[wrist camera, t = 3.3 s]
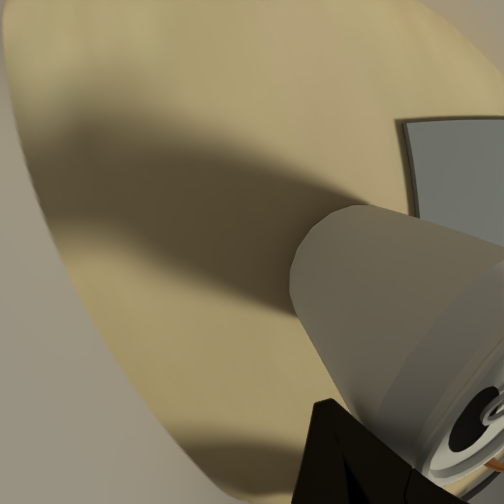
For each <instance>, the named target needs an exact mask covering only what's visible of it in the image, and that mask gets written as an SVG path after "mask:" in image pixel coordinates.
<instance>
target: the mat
mask: <svg viewBox="0 0 504 504" xmlns="http://www.w3.org/2000/svg"><path fill="white" fill-rule="evenodd" d="M403 129H404V134H405V140H406V145H407V151H408V157H409V163H410V170H411V177H412V185H413V193H414V202H415V212H416V218H419V219H422V220H426V221H429V222H432V223H435V224H438V225H441V226H445V227H448V228H451V229H454V230H457V231H460V232H463V233H466V234H469V235H471V236H474V237H477V238H480V239H483V240H486V241H488V242H491V243H494V244H497V245H499V246H502V247H504V120H448V121H430V122H416V123H405V124H403Z"/></svg>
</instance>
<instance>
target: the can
mask: <svg viewBox="0 0 504 504" xmlns="http://www.w3.org/2000/svg"><path fill="white" fill-rule="evenodd" d="M289 294H290V297H291V300H292V303H293V306H294V309H295V312H296V314H297V316H298V318H299V320H300V321H301V323H302V325H303V327H304V329H305V331H306V332H307V334H308V336H309V338H310V340H311V341H312V343H313V345H314V347H315V349H316V350H317V352H318V354H319V356H320V358H321V360H322V361H323V363H324V365H325V367H326V369H327V371H328V372H329V374H330V376H331V378H332V380H333V382H334V383H335V385H336V387H337V389H338V391H339V393H340V394H341V396H342V398H343V400H344V402H345V404H346V405H347V407H348V409H349V411H350V413H351V415H352V416H353V417H354V418H356V419H357V420H358V421H359V422H360V423H361V424H362V425H364V426H365V427H366V428H367V429H368V430H369V431H370V432H372V433H373V434H374V435H375V436H376V437H377V438H379V439H380V440H381V441H382V442H383V443H385V444H386V445H387V446H388V447H389V448H390V449H392V450H393V451H394V452H395V453H396V454H398V455H399V456H400V457H401V458H403V459H404V460H405V461H406V462H407V463H409V464H410V465H411V466H412V468H415V469H416V470H417V471H419V472H420V473H421V474H422V475H424V476H425V477H426V478H428V479H429V480H431V481H432V482H433V483H435V484H436V485H438V486H439V487H441V486H444V485H447V484H450V483H453V482H455V481H458V480H460V479H462V478H463V477H465V476H467V475H469V474H470V473H472V472H474V471H475V470H477V469H478V468H480V467H481V466H482V465H484V464H485V463H486V462H488V461H489V460H490V459H491V458H493V457H494V456H495V455H496V454H498V453H499V452H500V451H501V450H502V449H503V448H504V247H502V246H499V245H497V244H494V243H491V242H488V241H486V240H483V239H480V238H477V237H474V236H471V235H469V234H466V233H463V232H460V231H457V230H454V229H451V228H448V227H445V226H441V225H438V224H435V223H432V222H429V221H426V220H422V219H419V218H416V217H412V216H409V215H406V214H402V213H399V212H395V211H392V210H388V209H385V208H381V207H377V206H374V205H351V206H349V207H346V208H343V209H340V210H337V211H334V212H332V213H330V214H329V215H328V216H326V217H325V218H324V219H322V220H321V221H320V222H318V223H317V224H316V225H315V226H313V227H312V228H311V230H310V231H309V232H308V234H307V235H306V237H305V238H304V239H303V241H302V242H301V244H300V245H299V246H298V248H297V251H296V254H295V257H294V260H293V263H292V266H291V268H290V285H289Z"/></svg>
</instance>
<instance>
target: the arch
mask: <svg viewBox="0 0 504 504" xmlns="http://www.w3.org/2000/svg"><path fill="white" fill-rule="evenodd" d="M484 466H486V467H488V468H490V469H492V470H494V471H498V472H504V463H501V462H499V461H498V460H497V459H495V458H494V457H493V458H491V459H490V460H489V461H488V462H486V463H485V464H484Z"/></svg>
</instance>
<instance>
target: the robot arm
mask: <svg viewBox="0 0 504 504" xmlns="http://www.w3.org/2000/svg"><path fill="white" fill-rule="evenodd" d="M291 504H470V503H468V502H466V501H464V500H462V499H460V498H458V497H456V496H455V495H453V494H451V493H449V492H448V491H446V490H444V489H443V488H441V487H439V486H438V485H436V484H435V483H433V482H432V481H431V480H429V479H428V478H426V477H425V476H424V475H422V474H421V473H420V472H419V471H417V470H416V469H415V468H412V466H411V465H410V464H409V463H407V462H406V461H405V460H404V459H403V458H401V457H400V456H399V455H398V454H396V453H395V452H394V451H393V450H392V449H390V448H389V447H388V446H387V445H386V444H385V443H383V442H382V441H381V440H380V439H379V438H377V437H376V436H375V435H374V434H373V433H372V432H370V431H369V430H368V429H367V428H366V427H365V426H364V425H362V424H361V423H360V422H359V421H358V420H357V419H356V418H354V417H353V416H352V415H351V414H350V413H349V412H348V411H346V410H345V409H344V408H343V407H342V406H341V405H340V404H339V403H338V402H336V401H335V400H334V399H332V398H329V399H326V400H322V401H318V402H315V403H314V405H313V410H312V415H311V420H310V425H309V430H308V435H307V439H306V444H305V448H304V453H303V457H302V461H301V465H300V470H299V474H298V478H297V482H296V486H295V489H294V493H293V497H292V501H291Z"/></svg>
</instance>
